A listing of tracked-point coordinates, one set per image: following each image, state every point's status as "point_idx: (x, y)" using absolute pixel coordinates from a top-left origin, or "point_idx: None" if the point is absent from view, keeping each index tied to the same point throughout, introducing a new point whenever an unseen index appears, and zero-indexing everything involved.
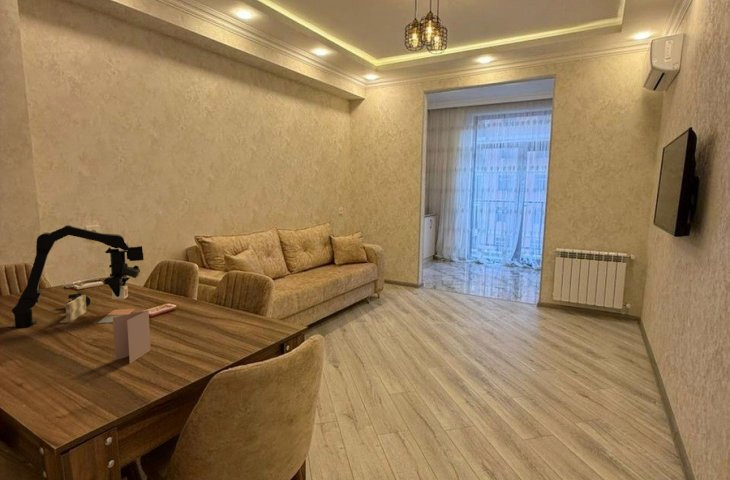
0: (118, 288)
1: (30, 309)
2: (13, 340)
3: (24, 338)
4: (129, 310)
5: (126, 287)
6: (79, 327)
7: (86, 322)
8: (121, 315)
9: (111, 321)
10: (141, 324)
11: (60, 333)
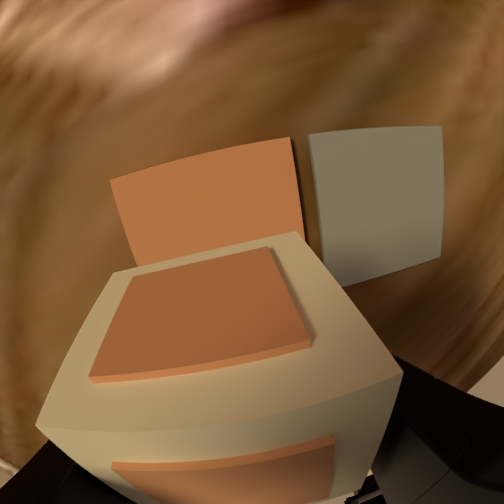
0: (467, 409)
1: (368, 488)
2: (478, 376)
3: (477, 368)
4: (166, 196)
5: (115, 401)
6: (456, 301)
7: (400, 324)
8: (317, 185)
9: (436, 189)
10: None
11: (486, 315)
